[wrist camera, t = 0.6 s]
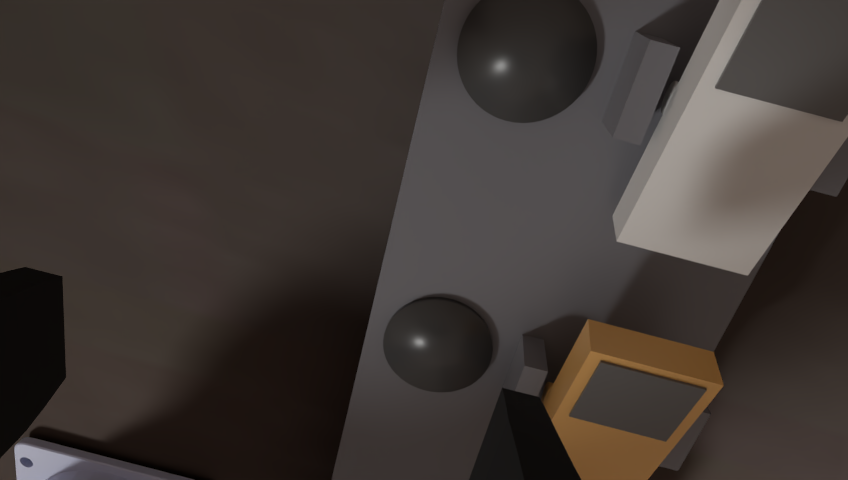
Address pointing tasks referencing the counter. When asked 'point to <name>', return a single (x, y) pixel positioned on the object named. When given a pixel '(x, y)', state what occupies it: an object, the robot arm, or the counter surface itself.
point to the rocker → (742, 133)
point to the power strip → (525, 225)
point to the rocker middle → (627, 400)
